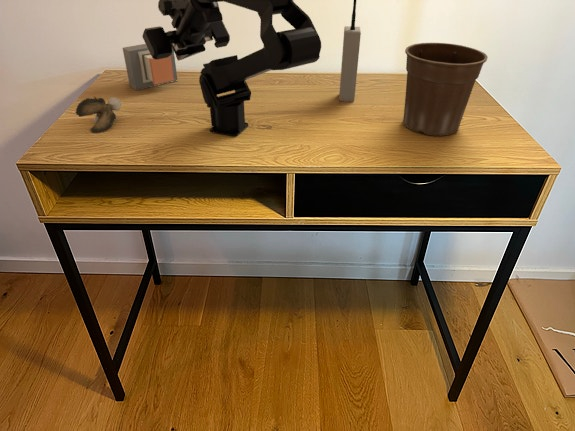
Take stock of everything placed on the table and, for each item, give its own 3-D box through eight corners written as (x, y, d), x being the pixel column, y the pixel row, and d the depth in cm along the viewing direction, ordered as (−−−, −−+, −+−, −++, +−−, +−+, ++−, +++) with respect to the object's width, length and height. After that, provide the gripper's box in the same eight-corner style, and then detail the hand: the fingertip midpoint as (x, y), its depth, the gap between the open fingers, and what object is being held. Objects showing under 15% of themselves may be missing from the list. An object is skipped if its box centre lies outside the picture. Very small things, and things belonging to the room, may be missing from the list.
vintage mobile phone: (353, 94, 119) (363, -12, 104) (354, 102, 114) (364, -8, 100) (339, 94, 119) (347, -13, 104) (339, 101, 115) (347, -9, 100)
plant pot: (439, 107, 112) (453, 39, 103) (484, 134, 100) (505, 59, 90) (381, 116, 107) (390, 45, 98) (421, 145, 95) (436, 67, 86)
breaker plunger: (174, 80, 120) (170, 55, 116) (154, 84, 117) (150, 59, 113) (156, 70, 126) (153, 46, 123) (138, 74, 123) (133, 50, 120)
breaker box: (178, 81, 126) (173, 43, 120) (136, 90, 119) (129, 51, 114) (170, 77, 128) (165, 40, 123) (129, 86, 122) (122, 47, 116)
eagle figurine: (86, 111, 105) (68, 120, 97) (99, 85, 103) (81, 91, 94) (117, 130, 107) (101, 140, 99) (130, 104, 104) (115, 112, 96)
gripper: (219, -22, 99) (198, 22, 113) (137, -14, 90) (125, 34, 103) (241, 23, 99) (218, 62, 112) (162, 36, 89) (146, 78, 103)
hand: (178, 58), depth 108 cm, fingers closed
